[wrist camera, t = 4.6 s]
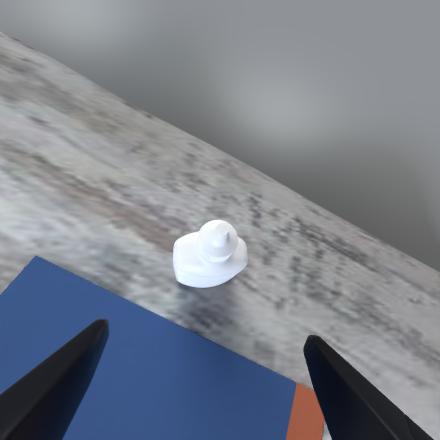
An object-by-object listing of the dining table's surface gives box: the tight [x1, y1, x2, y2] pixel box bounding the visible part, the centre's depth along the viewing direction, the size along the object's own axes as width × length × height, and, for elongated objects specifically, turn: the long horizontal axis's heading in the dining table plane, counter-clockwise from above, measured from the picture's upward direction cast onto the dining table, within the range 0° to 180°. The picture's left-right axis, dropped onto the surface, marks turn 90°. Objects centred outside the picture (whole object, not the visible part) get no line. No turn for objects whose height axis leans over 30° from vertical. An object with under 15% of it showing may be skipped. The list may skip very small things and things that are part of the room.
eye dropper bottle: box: [173, 220, 248, 288], centre depth 16 cm, size 4×6×12 cm
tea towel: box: [0, 256, 324, 440], centre depth 16 cm, size 30×13×1 cm, turn 67°
